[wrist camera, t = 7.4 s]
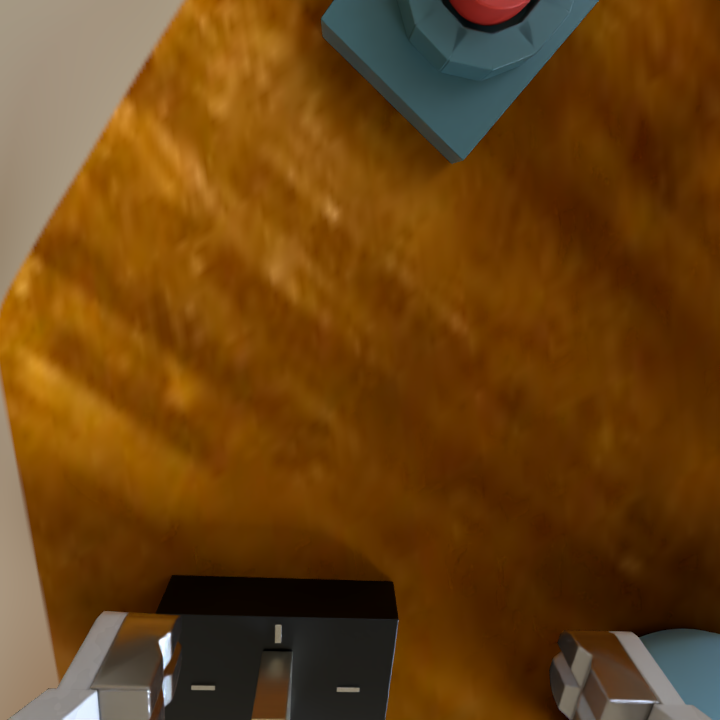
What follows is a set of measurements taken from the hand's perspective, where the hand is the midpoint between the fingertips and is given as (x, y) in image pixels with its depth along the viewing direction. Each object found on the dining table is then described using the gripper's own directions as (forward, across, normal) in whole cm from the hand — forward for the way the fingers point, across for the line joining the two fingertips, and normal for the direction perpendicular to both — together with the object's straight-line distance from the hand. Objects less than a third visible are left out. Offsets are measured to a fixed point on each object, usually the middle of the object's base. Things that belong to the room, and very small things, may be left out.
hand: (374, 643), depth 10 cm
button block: (+17, -3, -17) cm, 24 cm away
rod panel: (+17, +3, +20) cm, 26 cm away
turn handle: (+14, +3, +20) cm, 24 cm away
